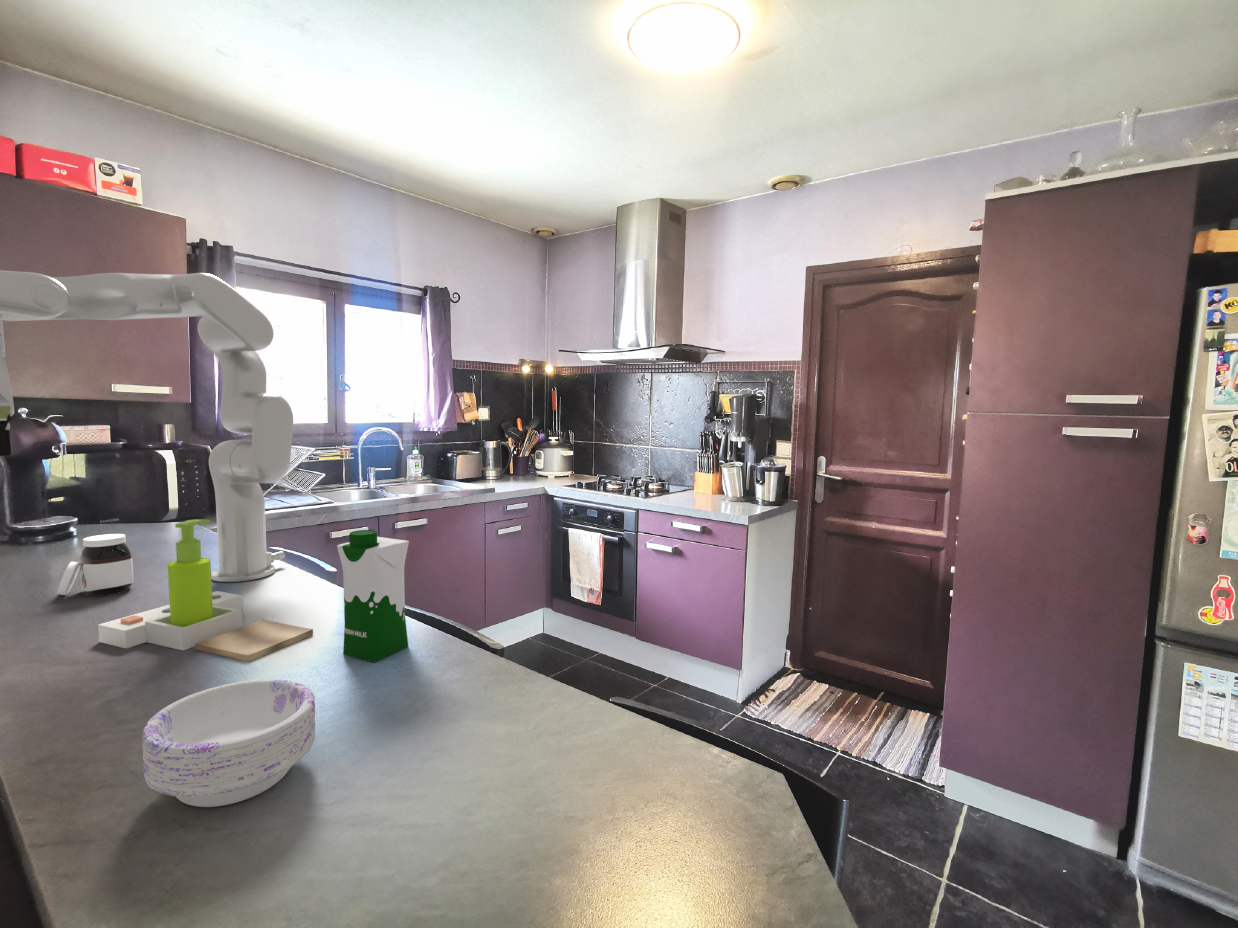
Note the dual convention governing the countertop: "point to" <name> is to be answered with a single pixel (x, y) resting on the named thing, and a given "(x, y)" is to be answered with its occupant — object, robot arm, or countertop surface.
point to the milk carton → (373, 595)
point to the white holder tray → (160, 631)
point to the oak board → (254, 640)
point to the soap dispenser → (189, 579)
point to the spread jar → (101, 566)
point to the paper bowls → (228, 741)
